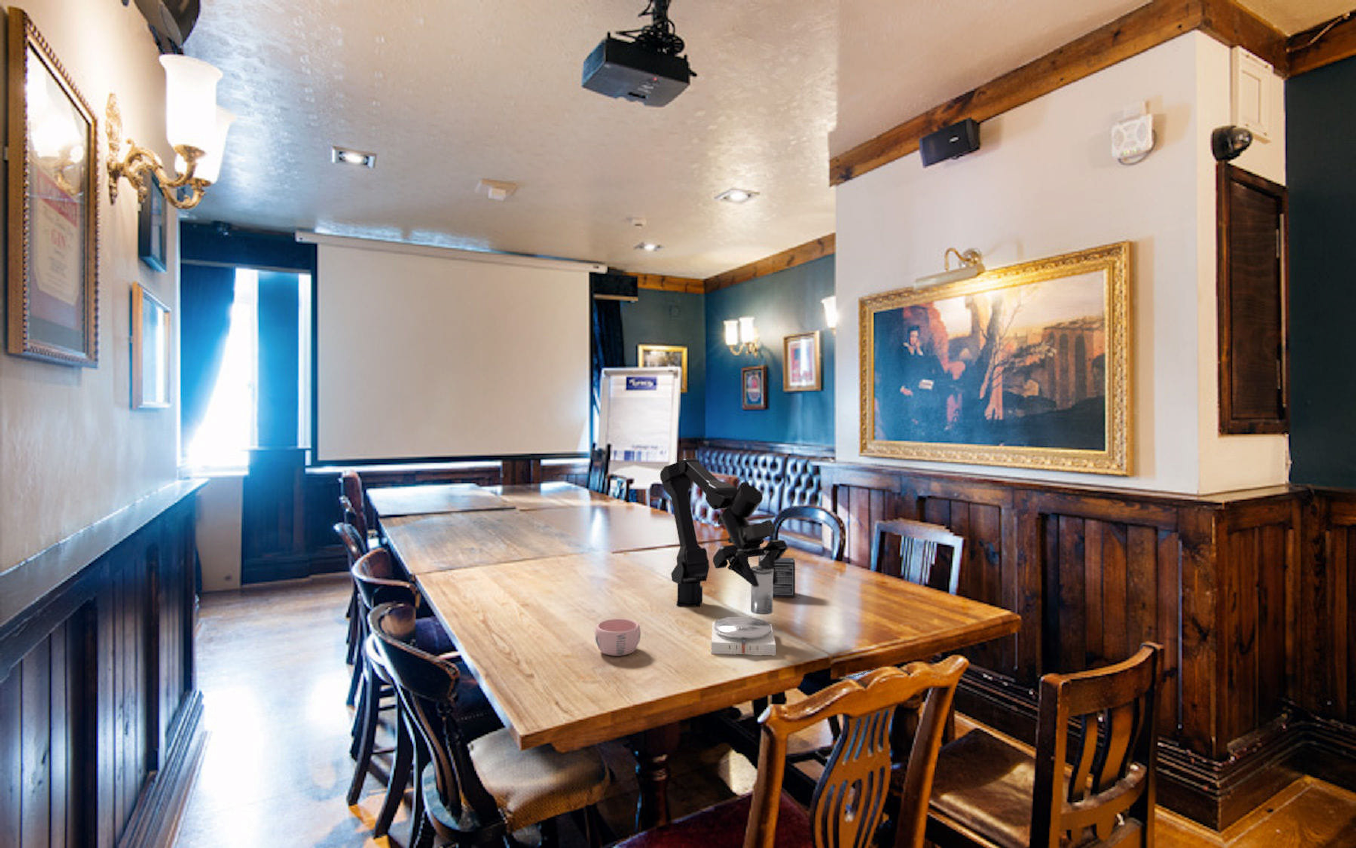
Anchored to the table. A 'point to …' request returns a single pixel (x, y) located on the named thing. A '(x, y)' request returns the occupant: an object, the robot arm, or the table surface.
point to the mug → (617, 636)
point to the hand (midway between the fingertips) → (765, 584)
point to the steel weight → (762, 590)
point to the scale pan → (742, 628)
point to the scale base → (734, 645)
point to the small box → (784, 578)
